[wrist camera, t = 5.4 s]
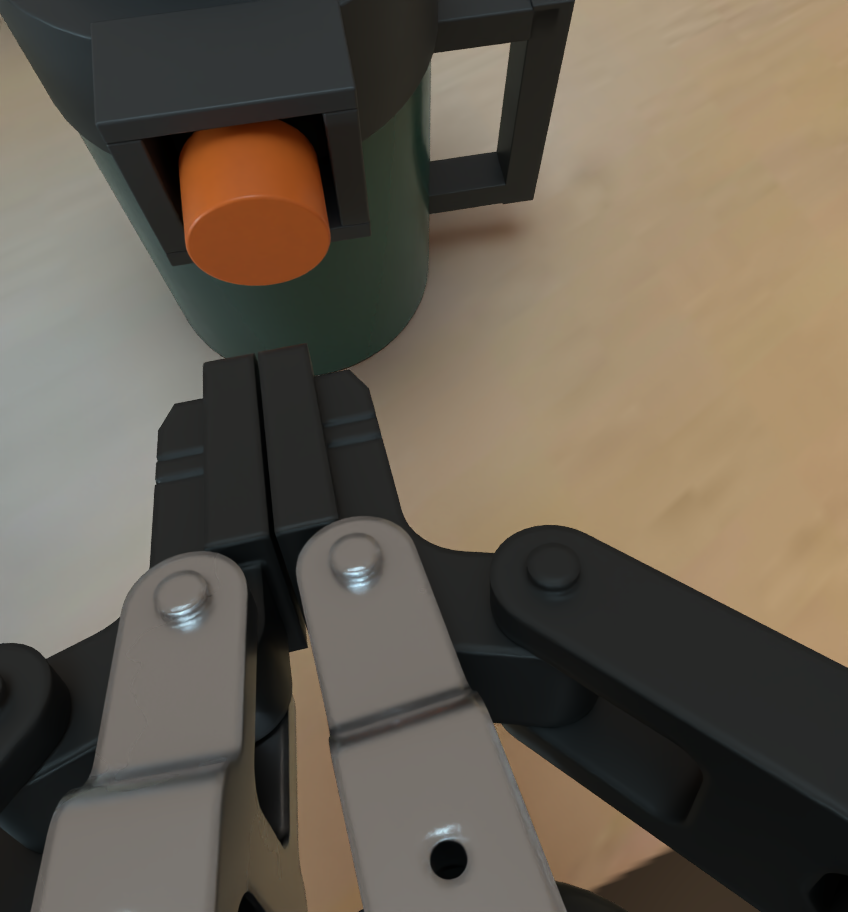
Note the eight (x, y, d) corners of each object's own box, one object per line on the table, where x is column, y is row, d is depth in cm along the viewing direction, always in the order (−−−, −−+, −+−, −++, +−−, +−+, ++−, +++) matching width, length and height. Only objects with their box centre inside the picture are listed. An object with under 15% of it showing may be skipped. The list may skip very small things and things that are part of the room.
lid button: (200, 219, 20) (158, 124, 17) (325, 201, 20) (307, 103, 17) (208, 296, 19) (165, 210, 16) (338, 275, 19) (321, 187, 16)
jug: (118, 185, 37) (-156, -304, 19) (492, 131, 38) (552, -376, 21) (134, 457, 32) (-215, 132, 15) (561, 384, 33) (717, 4, 16)
